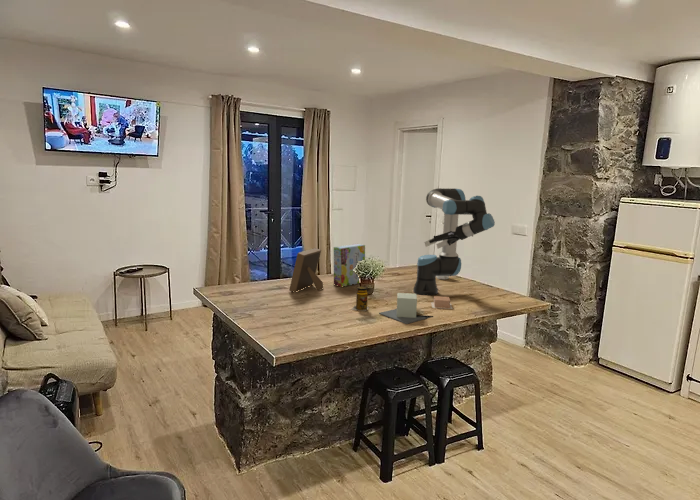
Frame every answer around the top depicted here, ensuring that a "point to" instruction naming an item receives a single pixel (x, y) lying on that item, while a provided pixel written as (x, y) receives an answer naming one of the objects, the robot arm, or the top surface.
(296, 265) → the photo frame
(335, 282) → the snack box
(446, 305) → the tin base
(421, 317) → the rubber mat
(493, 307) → the top surface
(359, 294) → the condiment
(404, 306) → the pale sage matte cube
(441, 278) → the jar
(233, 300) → the top surface
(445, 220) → the robot arm
